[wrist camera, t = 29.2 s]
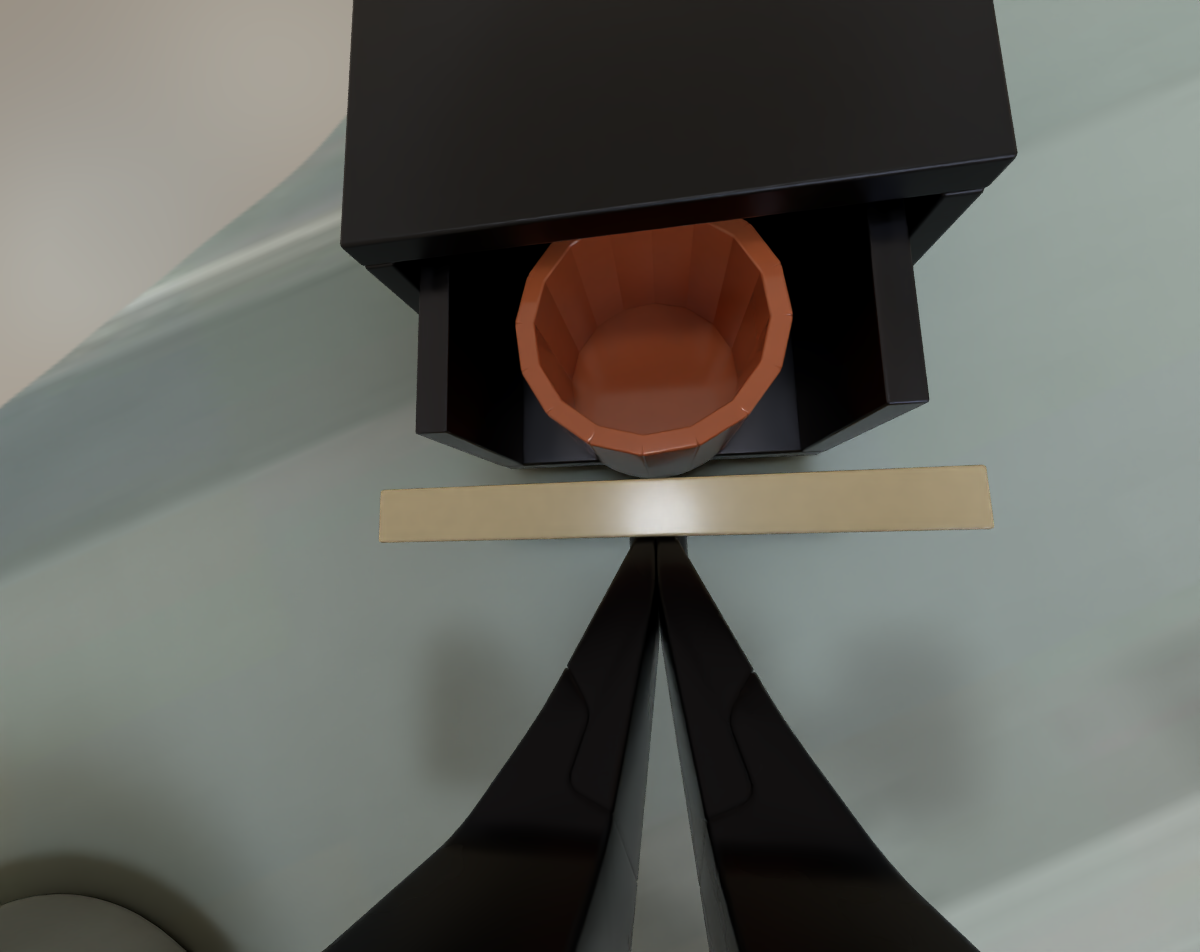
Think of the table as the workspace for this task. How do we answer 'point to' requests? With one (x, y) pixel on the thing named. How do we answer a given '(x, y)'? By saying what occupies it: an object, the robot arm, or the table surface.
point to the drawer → (774, 428)
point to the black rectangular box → (658, 118)
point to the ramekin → (654, 341)
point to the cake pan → (77, 927)
